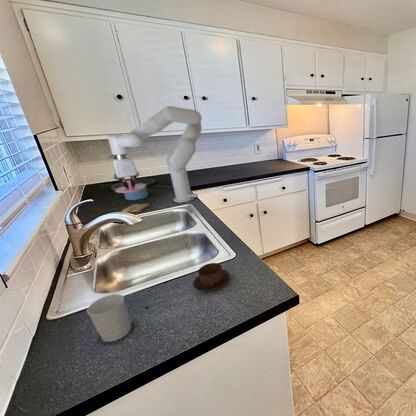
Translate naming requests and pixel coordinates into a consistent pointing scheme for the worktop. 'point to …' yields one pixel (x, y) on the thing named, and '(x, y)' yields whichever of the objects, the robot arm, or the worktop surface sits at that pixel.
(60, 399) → the worktop surface
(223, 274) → the cup and saucer
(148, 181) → the decorative plate
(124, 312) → the white cup
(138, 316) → the worktop surface
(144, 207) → the trivet
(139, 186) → the plate lid
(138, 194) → the bowl
